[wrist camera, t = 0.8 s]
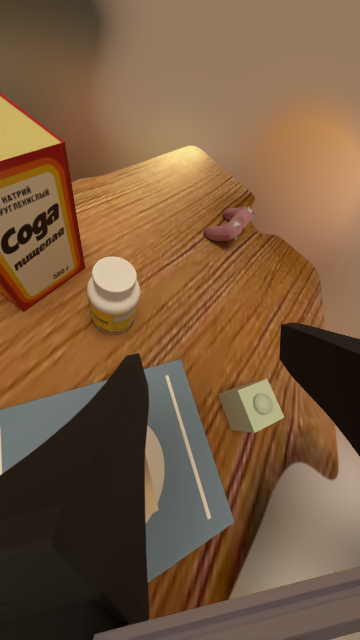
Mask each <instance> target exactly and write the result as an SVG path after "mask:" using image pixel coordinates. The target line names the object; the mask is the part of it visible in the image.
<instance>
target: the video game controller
mask: <svg viewBox="0 0 360 640" xmlns="http://www.w3.org/2000/svg"><path fill="white" fill-rule="evenodd" d="M249 207H250V206H249ZM249 207H247V206H245V207H242V208H229V209H227V210H225V212H224V213H223V216H224V218H225V219H226V220H228V221H229V222H228V223H227V224H226V225H222V226H211V227H208V228H206V229H205V231H204V234H205V236H206V237H207V238H208V239H210V240H213V241H229V240H231V239H233V240H236V239H237V238H238V237H239V236H237V235H239V234H240V233H241V232H242V228H243V227H245V226H246V225H247V224H248V223H249V222H250V221H251V220H252V219H253V218H254V217H255V215H254V213H253V212H252V210H251V209H250V208H249Z"/></svg>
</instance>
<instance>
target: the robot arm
mask: <svg viewBox="0 0 360 640" xmlns="http://www.w3.org/2000/svg"><path fill="white" fill-rule="evenodd" d="M280 360H281V362H282V363H283V365H284V366H285V367H286V369H287V370H288V372H289V373H290V374H291V376H292V377H293V378H294V379H295V380H296V381H297V382H298V383H299V384H300V386H301V387H302V388H303V389H304V390H305V391H306V392H307V393H308V394H309V395H310V396H311V397H312V398H313V399H314V401H315V402H316V403H317V404H318V405H319V406H320V407H321V408H322V409H323V410H324V411H325V412H326V414H327V415H328V416H329V417H330V418H331V419H332V420H333V422H334V423H335V424H336V426H337V427H338V428H339V429H340V431H341V432H342V433H343V435H344V436H345V437H346V438H347V440H348V441H349V442H350V444H351V445H352V447H353V448H354V449H355V451H356V452H357V453H358V455H359V456H360V339H357V338H353V337H349V336H345V335H341V334H338V333H334V332H330V331H326V330H323V329H319V328H315V327H312V326H308V325H304V324H299V323H288V324H283V325H281V338H280ZM148 413H149V389H148V383H147V379H146V376H145V372H144V369H143V365H142V362H141V358H140V355H139V353H138V354H133V355H128V356H126V357H125V358H124V360H123V361H122V362H121V364H120V365H119V366H118V368H117V369H116V370H115V372H114V373H113V374H112V375H111V377H110V378H109V379H108V380H107V382H106V383H105V384H104V385H103V386H102V388H101V389H100V390H99V391H98V392H97V393H96V394H95V396H94V397H93V398H92V399H91V400H90V401H89V402H88V403H87V404H86V405H85V406H84V407H83V408H82V409H81V410H80V411H79V412H78V413H77V414H76V415H75V416H74V417H73V418H72V419H71V420H70V421H69V422H68V423H66V424H65V425H64V426H63V427H62V428H60V429H59V430H58V431H57V432H56V433H55V434H53V435H52V436H51V437H50V438H49V439H48V440H46V441H45V442H44V443H43V444H41V445H40V446H39V447H38V448H36V449H35V450H34V451H32V452H31V453H30V454H29V455H27V456H26V457H25V458H23V459H22V460H20V461H19V462H18V463H16V464H15V465H14V466H12V467H11V468H10V469H8V470H7V471H5V472H4V473H3V474H1V475H0V640H330V639H334V638H337V637H341V636H345V635H348V634H352V633H356V632H359V631H360V566H359V567H355V568H352V569H348V570H343V571H340V572H336V573H332V574H328V575H324V576H320V577H316V578H312V579H308V580H304V581H300V582H296V583H293V584H289V585H285V586H281V587H277V588H273V589H269V590H266V591H261V592H258V593H254V594H250V595H246V596H242V597H238V598H234V599H230V600H226V601H222V602H218V603H214V604H210V605H206V606H202V607H199V608H195V609H191V610H187V611H183V612H179V613H175V614H171V615H167V616H163V617H159V618H156V619H152V620H148V619H149V600H148V578H147V554H146V523H145V448H146V436H147V425H148Z"/></svg>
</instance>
